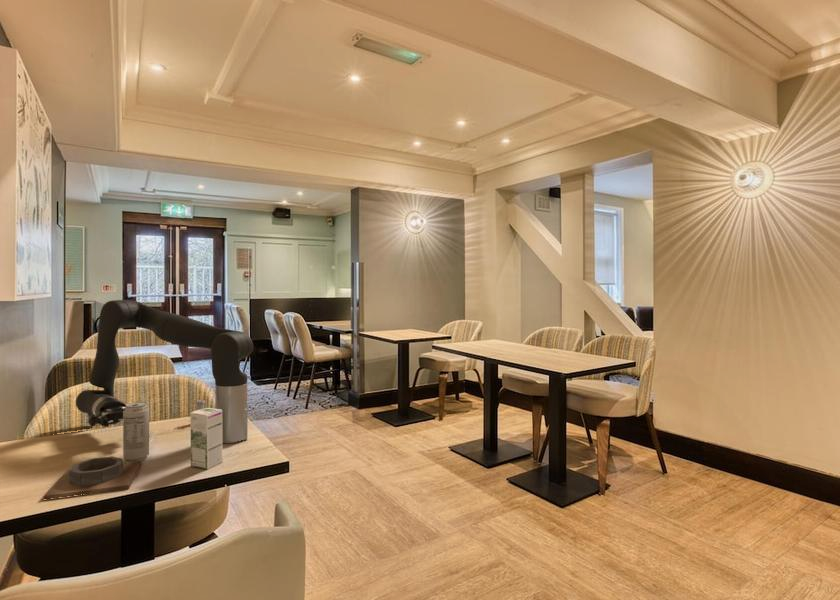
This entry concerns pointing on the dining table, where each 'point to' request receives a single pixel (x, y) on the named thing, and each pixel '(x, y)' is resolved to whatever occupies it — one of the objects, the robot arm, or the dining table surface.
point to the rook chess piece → (200, 404)
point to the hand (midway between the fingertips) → (124, 420)
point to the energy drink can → (136, 432)
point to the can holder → (95, 477)
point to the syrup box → (206, 438)
